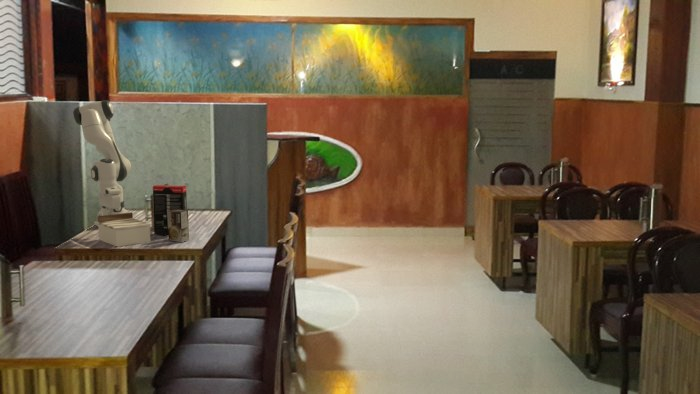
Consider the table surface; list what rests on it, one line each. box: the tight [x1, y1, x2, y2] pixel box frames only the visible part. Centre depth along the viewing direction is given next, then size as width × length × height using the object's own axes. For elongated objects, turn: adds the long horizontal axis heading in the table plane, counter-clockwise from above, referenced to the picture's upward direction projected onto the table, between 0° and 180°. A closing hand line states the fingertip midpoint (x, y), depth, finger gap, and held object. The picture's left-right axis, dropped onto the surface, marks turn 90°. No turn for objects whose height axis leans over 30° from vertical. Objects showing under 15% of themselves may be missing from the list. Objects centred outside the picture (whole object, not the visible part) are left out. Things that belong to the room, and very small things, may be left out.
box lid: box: [97, 211, 151, 230], centre depth 381 cm, size 22×18×4 cm
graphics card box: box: [152, 184, 188, 236], centre depth 399 cm, size 17×7×27 cm, turn 84°
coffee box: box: [167, 209, 190, 243], centre depth 385 cm, size 9×6×16 cm
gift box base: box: [97, 224, 151, 247], centre depth 382 cm, size 22×18×9 cm
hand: (109, 215), depth 393 cm, fingers closed
